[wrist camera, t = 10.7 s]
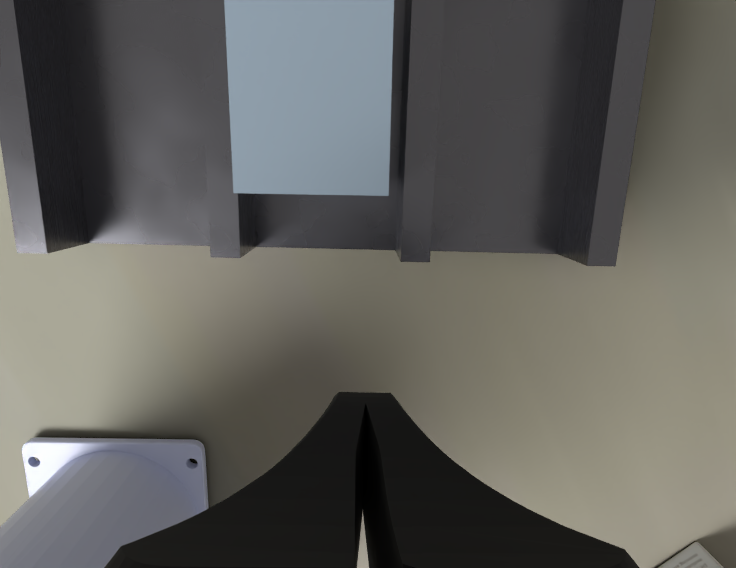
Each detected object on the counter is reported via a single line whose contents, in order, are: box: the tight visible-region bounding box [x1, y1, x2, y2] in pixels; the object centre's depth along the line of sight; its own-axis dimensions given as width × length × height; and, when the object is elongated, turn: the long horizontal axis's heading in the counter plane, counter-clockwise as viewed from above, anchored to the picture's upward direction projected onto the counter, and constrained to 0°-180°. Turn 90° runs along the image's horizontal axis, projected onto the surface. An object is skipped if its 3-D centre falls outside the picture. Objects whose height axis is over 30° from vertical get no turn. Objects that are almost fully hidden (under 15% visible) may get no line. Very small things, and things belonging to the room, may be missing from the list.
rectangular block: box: [224, 0, 394, 196], centre depth 14 cm, size 7×4×6 cm, turn 179°
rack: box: [0, 0, 656, 266], centre depth 16 cm, size 12×21×4 cm, turn 88°
